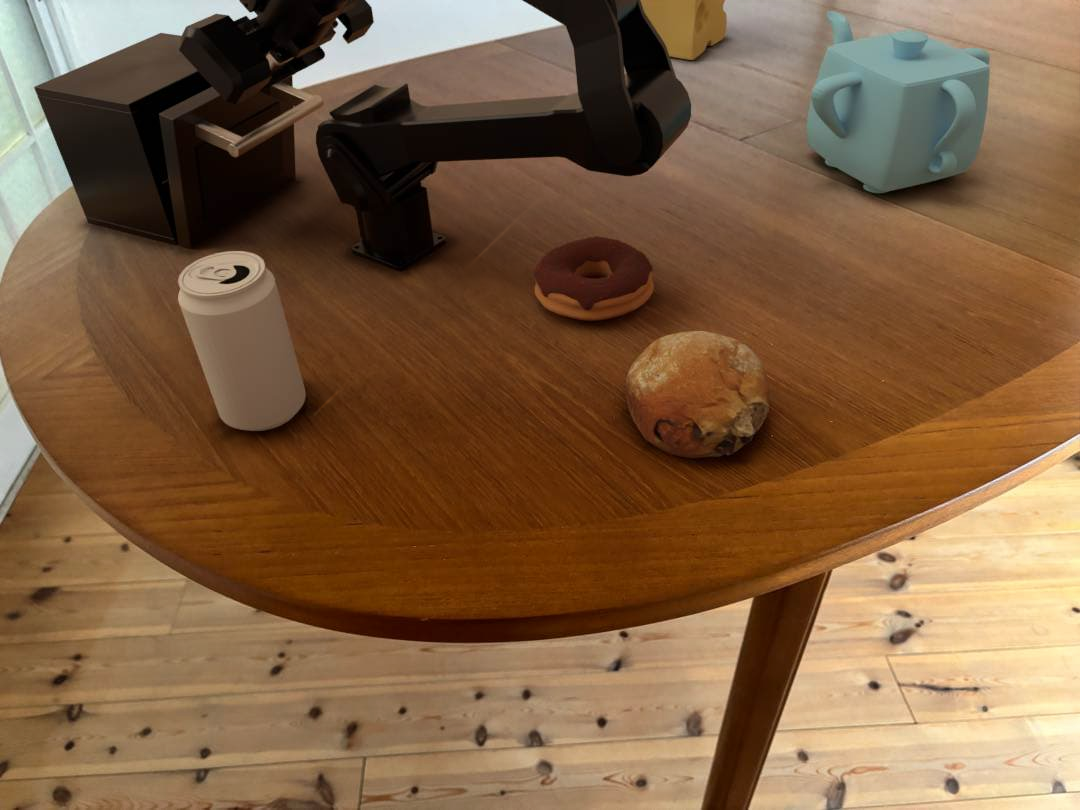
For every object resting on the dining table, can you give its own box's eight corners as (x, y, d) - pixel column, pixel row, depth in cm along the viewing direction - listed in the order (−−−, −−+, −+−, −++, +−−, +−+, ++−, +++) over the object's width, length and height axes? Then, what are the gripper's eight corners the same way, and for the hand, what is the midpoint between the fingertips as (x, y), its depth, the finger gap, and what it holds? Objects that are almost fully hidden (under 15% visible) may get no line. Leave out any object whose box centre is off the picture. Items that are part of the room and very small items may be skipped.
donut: (630, 258, 83) (631, 219, 80) (670, 316, 75) (673, 275, 73) (522, 278, 81) (519, 238, 78) (552, 339, 74) (550, 298, 71)
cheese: (725, 38, 127) (732, -39, 120) (692, 63, 120) (697, -18, 113) (657, 29, 131) (660, -47, 125) (622, 52, 124) (623, -27, 118)
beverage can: (287, 442, 65) (244, 300, 58) (205, 433, 66) (153, 293, 59) (321, 387, 70) (286, 249, 62) (243, 379, 71) (200, 243, 64)
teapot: (983, 151, 96) (1020, 18, 88) (953, 219, 85) (992, 75, 77) (811, 123, 104) (830, -2, 95) (764, 183, 93) (780, 48, 84)
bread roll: (751, 421, 70) (751, 317, 68) (788, 462, 60) (789, 342, 58) (622, 428, 70) (619, 324, 68) (637, 470, 60) (634, 350, 58)
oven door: (335, 198, 97) (335, 76, 88) (233, 271, 86) (221, 141, 77) (284, 174, 99) (278, 52, 89) (177, 244, 88) (158, 113, 78)
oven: (282, 177, 99) (250, 45, 90) (176, 246, 88) (128, 104, 79) (199, 159, 103) (160, 32, 94) (88, 223, 93) (33, 86, 84)
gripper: (321, -138, 77) (251, -11, 88) (158, -89, 64) (100, 52, 75) (412, -29, 79) (332, 81, 90) (272, 39, 66) (199, 158, 77)
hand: (246, 90), depth 83 cm, fingers closed
